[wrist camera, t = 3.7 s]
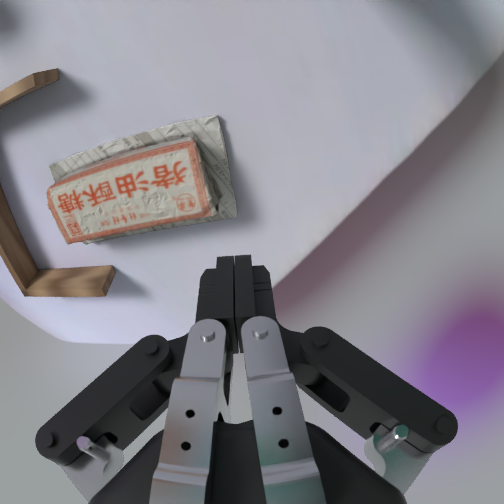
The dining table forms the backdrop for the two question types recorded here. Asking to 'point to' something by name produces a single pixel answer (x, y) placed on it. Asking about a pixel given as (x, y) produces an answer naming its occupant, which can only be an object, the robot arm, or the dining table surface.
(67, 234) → the packaged product
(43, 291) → the frame
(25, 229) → the dining table surface
